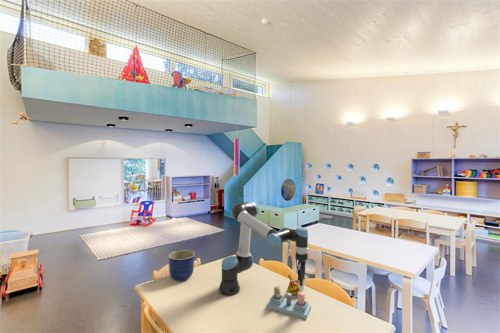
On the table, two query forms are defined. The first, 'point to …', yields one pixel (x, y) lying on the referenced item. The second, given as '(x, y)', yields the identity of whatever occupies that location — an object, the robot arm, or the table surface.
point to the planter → (181, 264)
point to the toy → (293, 286)
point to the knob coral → (301, 298)
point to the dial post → (288, 299)
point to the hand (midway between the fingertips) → (301, 289)
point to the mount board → (289, 307)
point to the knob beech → (277, 293)
